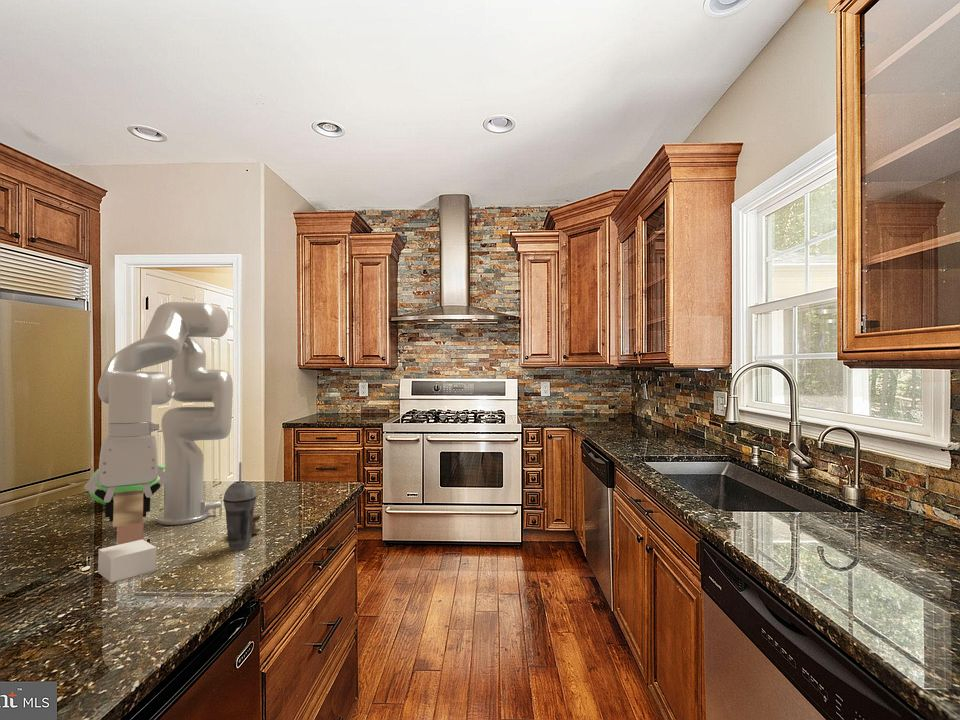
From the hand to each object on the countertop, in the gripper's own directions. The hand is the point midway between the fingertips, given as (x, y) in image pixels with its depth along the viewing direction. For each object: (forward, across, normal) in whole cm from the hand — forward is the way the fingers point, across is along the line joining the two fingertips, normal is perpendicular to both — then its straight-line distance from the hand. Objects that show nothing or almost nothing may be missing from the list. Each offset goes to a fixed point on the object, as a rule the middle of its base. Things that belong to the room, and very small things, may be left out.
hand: (127, 517), depth 106 cm
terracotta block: (+11, -1, -18) cm, 21 cm away
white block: (+12, 0, 0) cm, 12 cm away
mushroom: (+11, -25, -11) cm, 30 cm away
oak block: (+1, 0, 0) cm, 1 cm away
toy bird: (+11, -1, -64) cm, 65 cm away
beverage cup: (+11, -22, -2) cm, 25 cm away
